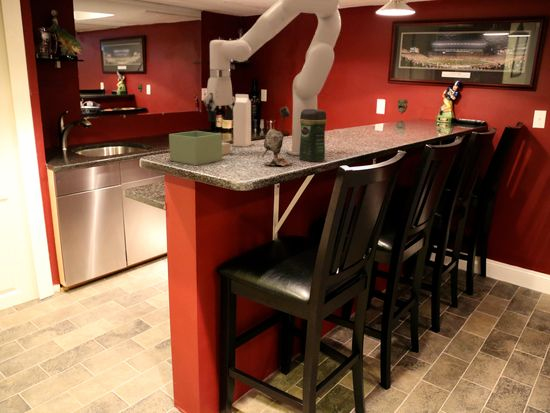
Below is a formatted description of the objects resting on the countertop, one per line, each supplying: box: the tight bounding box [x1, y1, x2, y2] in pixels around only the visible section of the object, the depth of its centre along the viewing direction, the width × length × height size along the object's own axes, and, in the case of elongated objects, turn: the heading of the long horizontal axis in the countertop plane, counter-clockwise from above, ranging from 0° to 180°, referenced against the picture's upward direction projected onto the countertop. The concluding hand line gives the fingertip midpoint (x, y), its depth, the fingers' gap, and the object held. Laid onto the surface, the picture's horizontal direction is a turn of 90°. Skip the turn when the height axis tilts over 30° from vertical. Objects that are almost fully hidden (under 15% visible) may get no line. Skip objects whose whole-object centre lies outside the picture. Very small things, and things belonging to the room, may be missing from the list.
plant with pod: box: [261, 106, 293, 167], centre depth 154 cm, size 8×11×20 cm
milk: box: [232, 93, 252, 147], centre depth 194 cm, size 6×6×22 cm
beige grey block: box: [222, 141, 231, 156], centre depth 177 cm, size 5×5×4 cm
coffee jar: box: [298, 108, 327, 163], centre depth 163 cm, size 10×8×19 cm
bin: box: [168, 130, 223, 166], centre depth 161 cm, size 13×13×10 cm
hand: (220, 120), depth 173 cm, fingers open, 9 cm apart
